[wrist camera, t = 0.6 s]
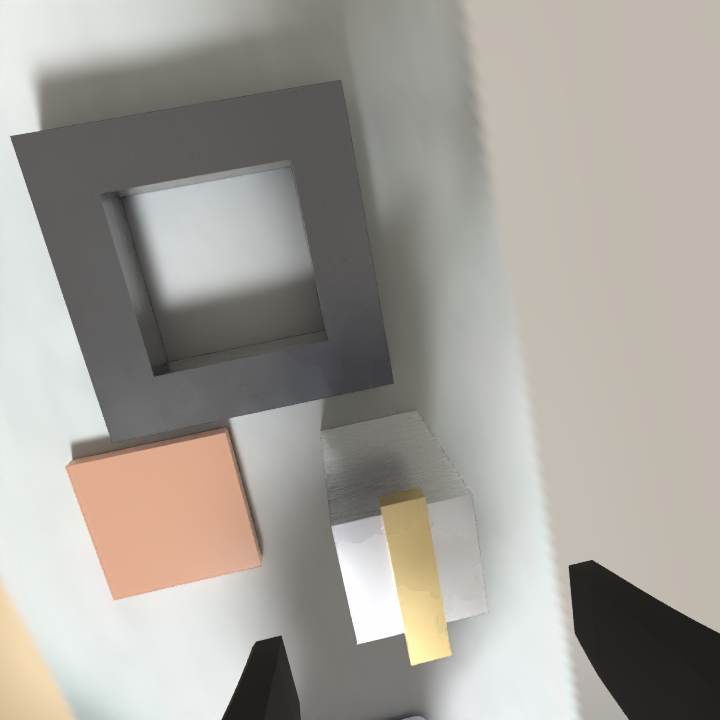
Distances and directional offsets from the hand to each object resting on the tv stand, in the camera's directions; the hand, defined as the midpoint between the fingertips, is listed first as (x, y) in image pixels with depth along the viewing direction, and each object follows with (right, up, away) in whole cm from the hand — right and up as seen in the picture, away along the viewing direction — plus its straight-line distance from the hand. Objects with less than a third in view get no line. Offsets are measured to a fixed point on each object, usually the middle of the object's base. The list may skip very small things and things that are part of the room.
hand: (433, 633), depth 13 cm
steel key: (-1, +2, +9) cm, 9 cm away
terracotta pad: (-9, +1, +8) cm, 13 cm away
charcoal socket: (-7, +10, +6) cm, 14 cm away
